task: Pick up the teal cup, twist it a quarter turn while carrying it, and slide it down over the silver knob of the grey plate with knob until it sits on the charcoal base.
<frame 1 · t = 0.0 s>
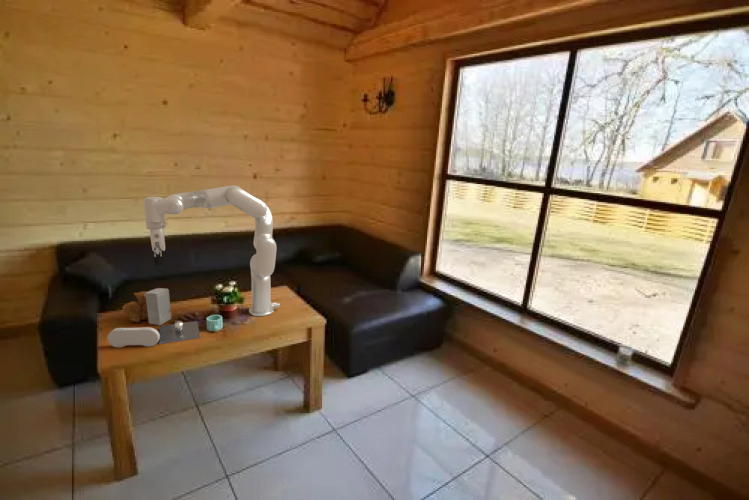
hand: (159, 261, 173), 31 cm above the table, tool pointing down, fingers open, 9 cm apart
stuffed squirrel: (141, 319, 186), on the table
skincare box: (160, 321, 184), on the table
teal cup: (214, 327, 181), on the table
game controller: (135, 346, 162), on the table
grey plate with knob: (179, 332, 174), on the table
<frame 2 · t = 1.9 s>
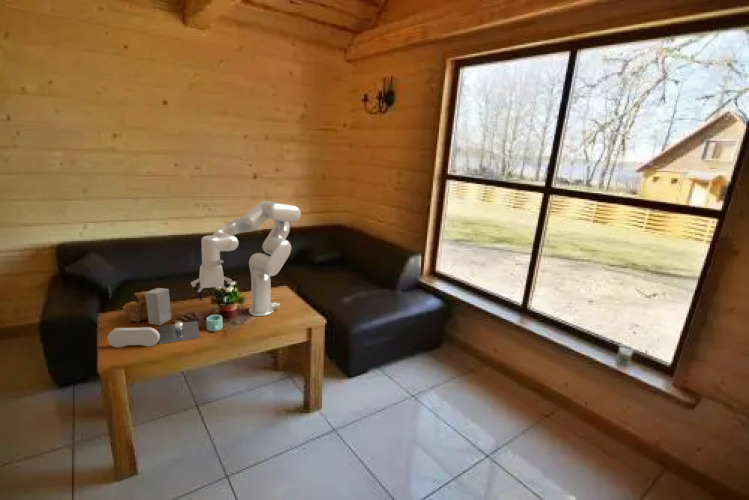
hand: (212, 298, 177), 15 cm above the table, tool pointing down, fingers open, 9 cm apart
nothing on the table moved.
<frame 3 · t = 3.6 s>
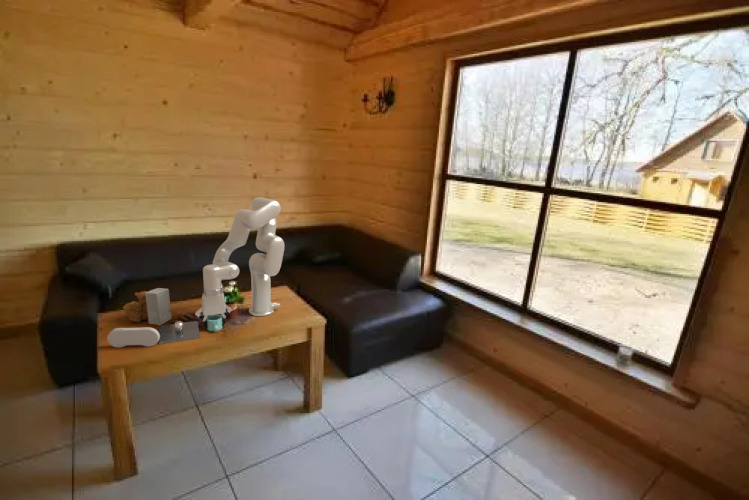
hand: (214, 326, 181), 1 cm above the table, tool pointing down, fingers closed on teal cup, 6 cm apart
teal cup: (214, 327, 181), on the table, touching gripper
everything else where it was.
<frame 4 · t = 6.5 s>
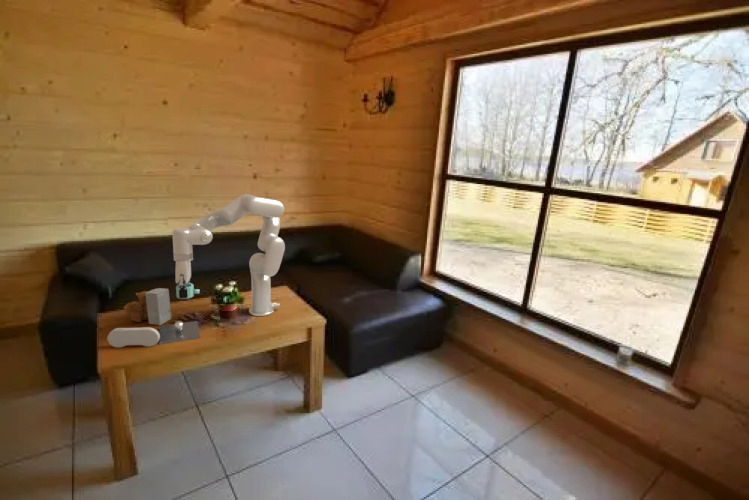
hand: (185, 294, 171), 18 cm above the table, tool pointing down, fingers closed on teal cup, 6 cm apart
teal cup: (185, 295, 171), point 18 cm above the table, touching gripper
everything else where it was.
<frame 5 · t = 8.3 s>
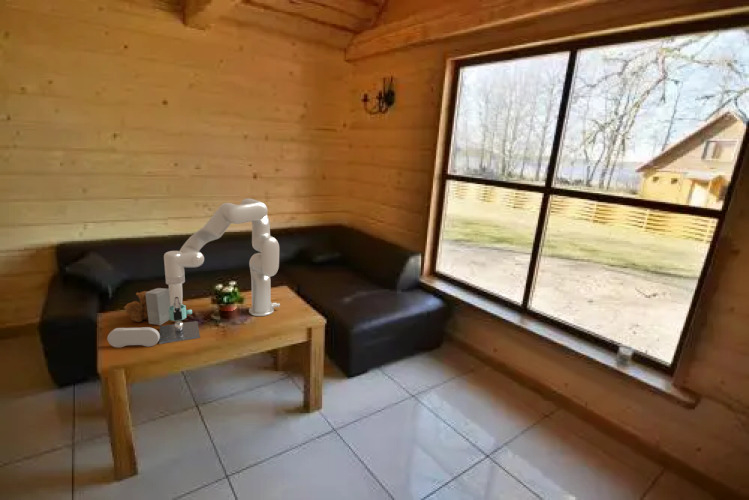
hand: (177, 316, 172), 8 cm above the table, tool pointing down, fingers closed on teal cup, 6 cm apart
teal cup: (178, 317, 172), point 8 cm above the table, touching gripper
everything else where it was.
when the fingers open (3 cm above the table, at t = 9.8 s): teal cup drops 1 cm, resting on grey plate with knob.
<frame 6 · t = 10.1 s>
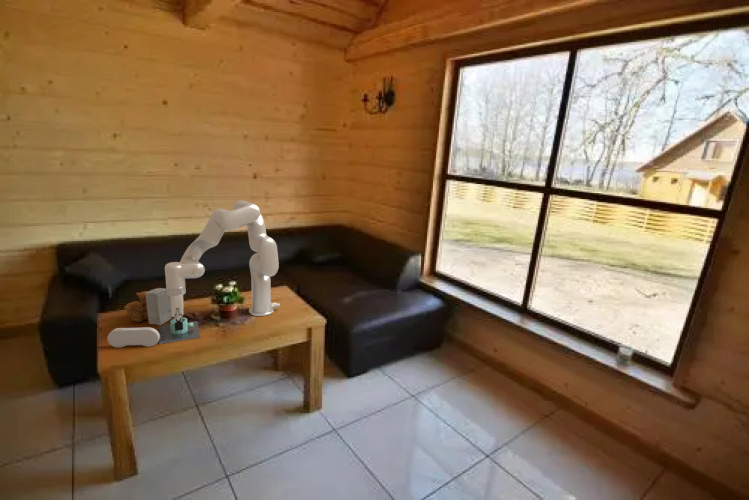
hand: (178, 325, 174), 4 cm above the table, tool pointing down, fingers open, 9 cm apart
teal cup: (179, 330, 174), point 1 cm above the table, touching grey plate with knob
everything else where it was.
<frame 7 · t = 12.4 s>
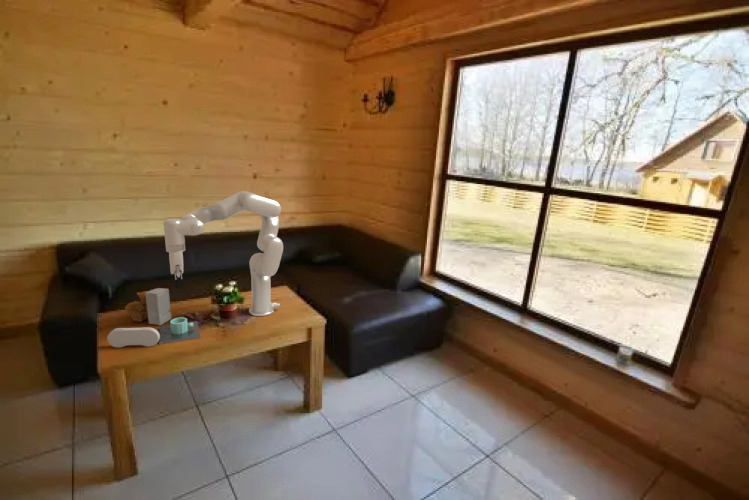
hand: (179, 283, 171), 23 cm above the table, tool pointing down, fingers open, 9 cm apart
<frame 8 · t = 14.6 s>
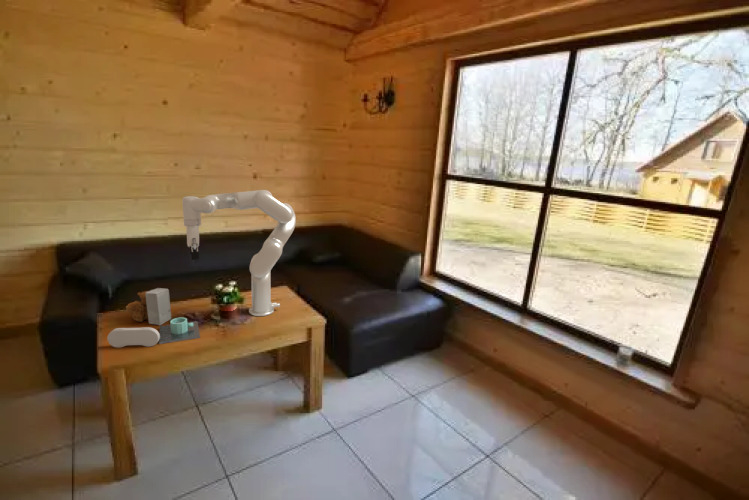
hand: (194, 256, 187), 30 cm above the table, tool pointing down, fingers open, 9 cm apart
at the end: teal cup 0.2 cm off-centre on the grey plate with knob, point 1.0 cm above the grey plate with knob's base; teal cup tilted 0°; the gripper is holding nothing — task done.
